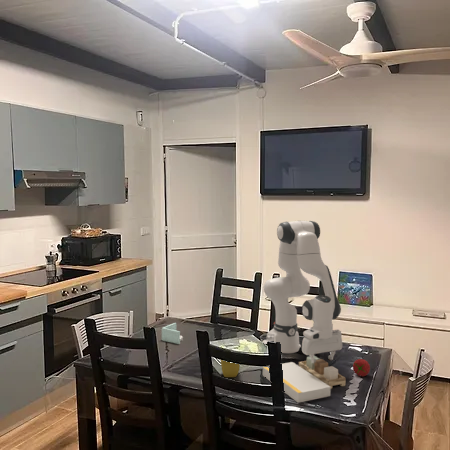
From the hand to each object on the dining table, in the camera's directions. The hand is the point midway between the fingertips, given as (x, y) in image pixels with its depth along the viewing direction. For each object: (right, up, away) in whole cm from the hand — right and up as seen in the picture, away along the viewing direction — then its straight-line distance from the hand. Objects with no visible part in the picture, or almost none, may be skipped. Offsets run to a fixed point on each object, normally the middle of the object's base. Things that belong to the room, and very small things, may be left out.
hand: (322, 361), depth 226 cm
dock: (-14, -8, -8) cm, 18 cm away
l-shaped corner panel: (-72, -3, +52) cm, 88 cm away
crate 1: (-3, -5, +7) cm, 9 cm away
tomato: (+19, -8, +3) cm, 20 cm away
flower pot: (-42, -7, +2) cm, 43 cm away
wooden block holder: (0, -8, +1) cm, 8 cm away
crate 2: (+3, -6, -6) cm, 9 cm away
